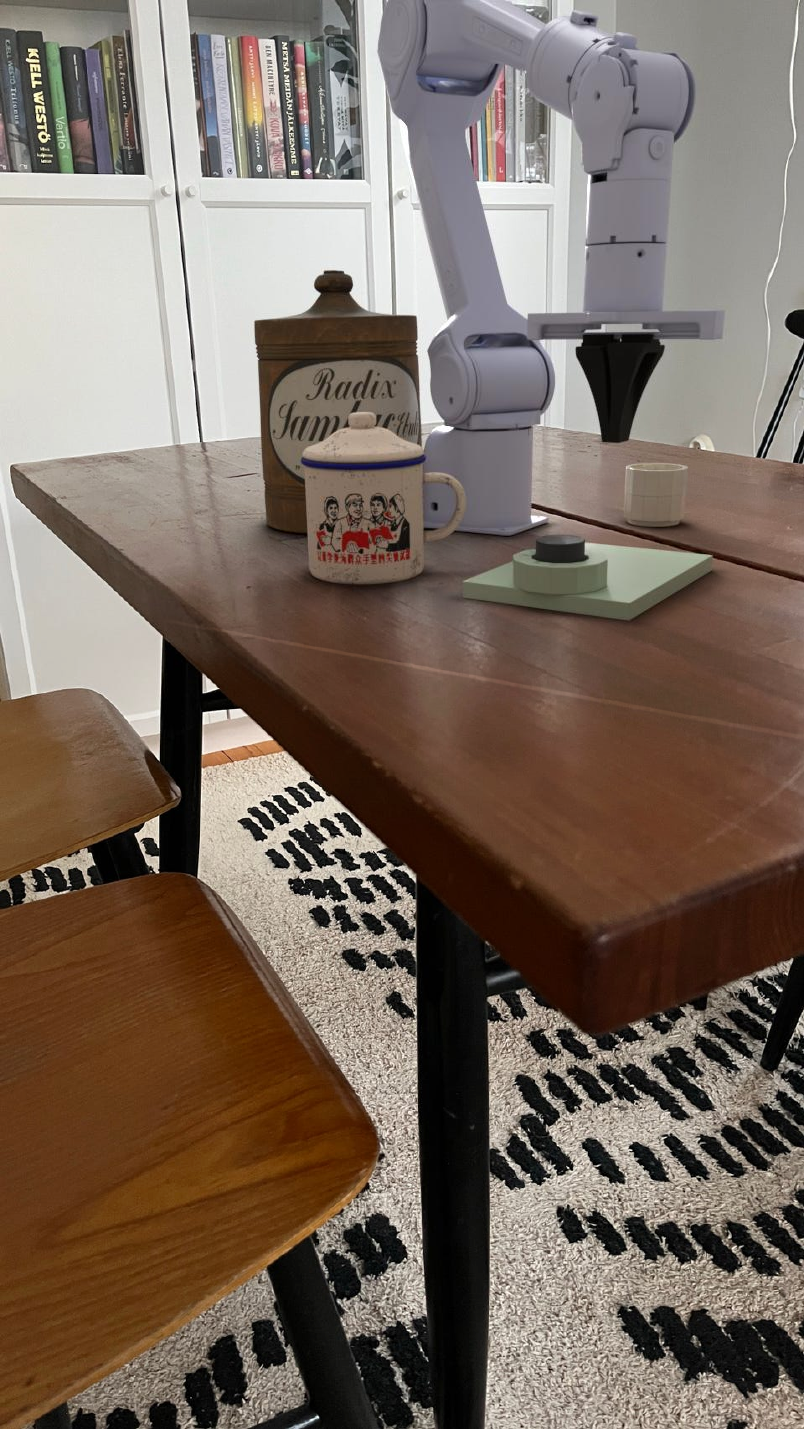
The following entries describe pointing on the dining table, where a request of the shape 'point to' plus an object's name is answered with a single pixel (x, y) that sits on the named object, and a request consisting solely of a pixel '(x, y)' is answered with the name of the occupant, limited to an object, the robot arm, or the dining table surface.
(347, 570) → the teacup with lid
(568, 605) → the scale
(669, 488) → the cup
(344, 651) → the dining table surface
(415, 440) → the wooden container
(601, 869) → the dining table surface
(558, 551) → the button
